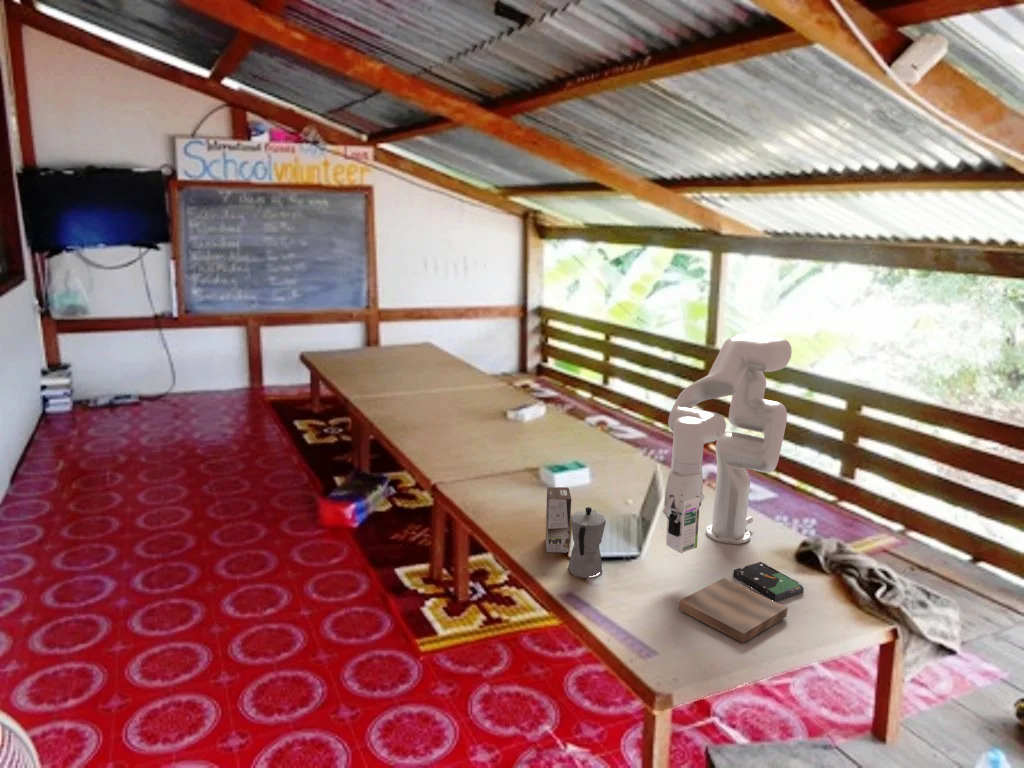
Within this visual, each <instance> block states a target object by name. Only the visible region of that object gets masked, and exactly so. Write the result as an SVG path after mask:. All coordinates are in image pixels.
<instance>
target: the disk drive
mask: <svg viewBox="0 0 1024 768" xmlns="http://www.w3.org/2000/svg"><path fill="white" fill-rule="evenodd" d="M732 577H733V578H734V579H736V580H737V581H739V582H740V581H741V583H742V582H743V583H742V584H744V585H745V586H747V585H748V586H747V587H749V586H750V587H749V588H751V587H752V588H753V589H752V588H751V589H752V590H754V589H755V590H754V591H756V590H757V591H758V592H757V591H756V592H757V593H759V592H760V593H759V594H760V595H762V594H763V595H762V596H764V597H765V596H766V598H768V599H771V600H773V601H775V602H777V603H778V601H779V602H781V600H782V601H785V600H788V599H790V598H793V596H794V597H797V596H800V595H802V594H801V593H803V594H804V590H805V588H804V587H803V584H801V583H799V582H798V581H797V580H794V578H791V577H789V576H787V575H786V574H784V573H782V572H780V571H778V570H777V569H775V568H773V567H771V565H770V566H769V565H768V564H766V563H764V562H762V561H758V562H756V563H751V564H748V565H745V566H744V567H743V568H741V567H739V568H735V569H733V573H732ZM799 594H800V595H799ZM796 595H797V596H796ZM787 598H788V599H787ZM784 599H785V600H784Z"/></svg>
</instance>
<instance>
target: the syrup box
mask: <svg viewBox="0 0 1024 768" xmlns="http://www.w3.org/2000/svg"><path fill="white" fill-rule="evenodd" d="M699 505H700V497H699V496H697V497H695V498H693V499H690V500H688V501H686V502H684V507H683V511H682V512H681V516H680V519H679V522H680V536H679V537H676V536H674V535H672V534H669V533H668V528H669V520H668V518H667V517H666V518H667V519H666V536H665V537H666V539H665V544H666V546H667V547H669V548H670V549H672V550H674V551H676V552H678V553H680V554H683V553H687V552H688V551H691V550H694V549H697V548H698V539H699V538H698V537H699V519H700V507H699ZM674 508H675V509H676V507H675V506H674ZM673 514H674V515H675V517H676V514H677V512H675V511H674V513H673Z"/></svg>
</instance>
